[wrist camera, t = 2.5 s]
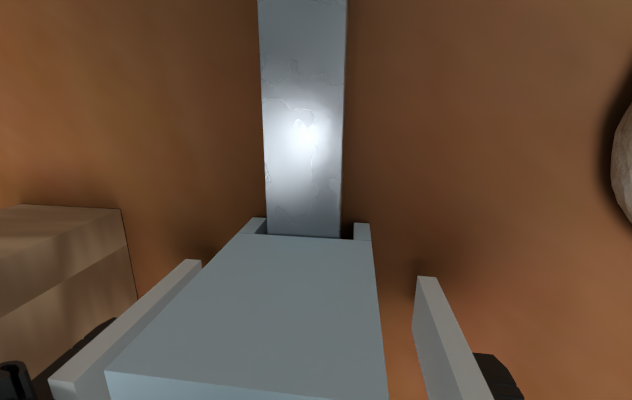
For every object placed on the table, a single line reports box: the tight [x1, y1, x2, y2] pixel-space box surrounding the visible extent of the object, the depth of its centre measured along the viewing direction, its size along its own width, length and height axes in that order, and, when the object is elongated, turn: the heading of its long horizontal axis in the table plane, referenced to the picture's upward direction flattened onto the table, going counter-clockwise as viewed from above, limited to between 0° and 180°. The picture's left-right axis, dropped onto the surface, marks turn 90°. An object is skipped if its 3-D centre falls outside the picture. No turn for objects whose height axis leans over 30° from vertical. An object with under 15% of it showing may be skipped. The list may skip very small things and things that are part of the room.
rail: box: [257, 0, 349, 239], centre depth 11 cm, size 24×4×4 cm, turn 0°
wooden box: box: [0, 204, 138, 381], centre depth 13 cm, size 8×6×8 cm
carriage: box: [104, 217, 389, 400], centre depth 11 cm, size 6×6×9 cm
